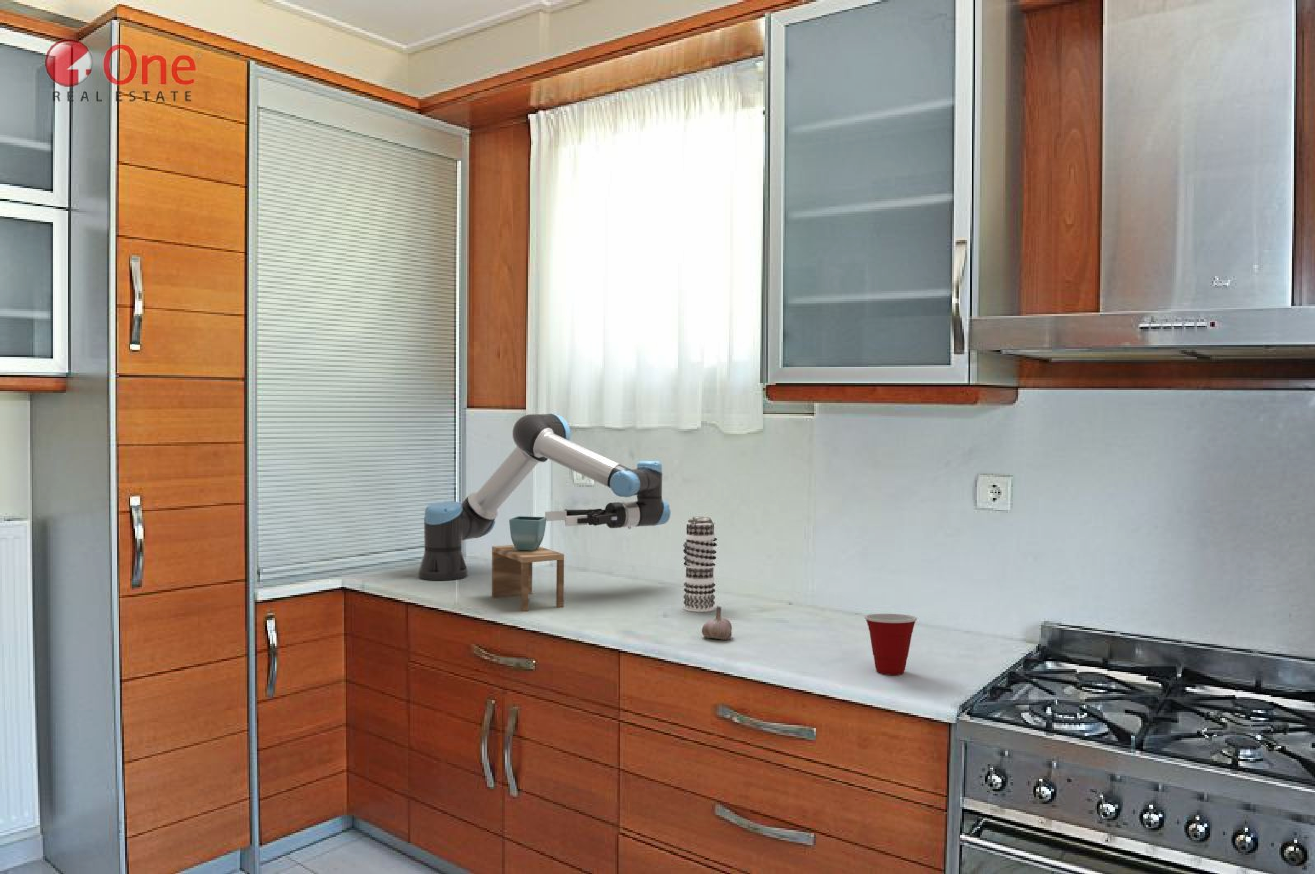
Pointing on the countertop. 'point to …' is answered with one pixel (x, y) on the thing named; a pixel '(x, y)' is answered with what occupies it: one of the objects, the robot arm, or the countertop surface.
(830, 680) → the countertop surface
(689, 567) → the decorative candle
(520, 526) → the flower pot
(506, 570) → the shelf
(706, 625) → the garlic bulb
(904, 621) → the plastic cup
